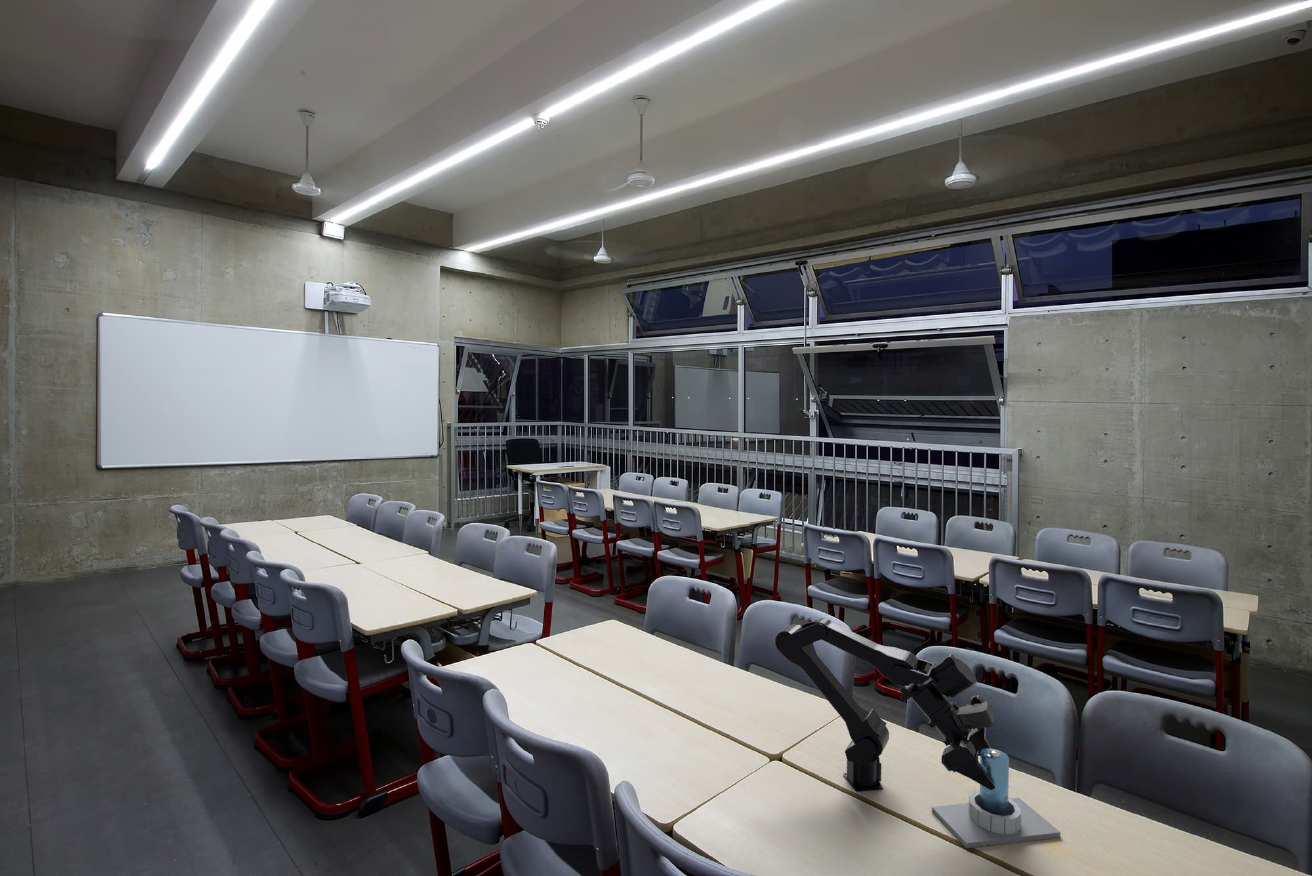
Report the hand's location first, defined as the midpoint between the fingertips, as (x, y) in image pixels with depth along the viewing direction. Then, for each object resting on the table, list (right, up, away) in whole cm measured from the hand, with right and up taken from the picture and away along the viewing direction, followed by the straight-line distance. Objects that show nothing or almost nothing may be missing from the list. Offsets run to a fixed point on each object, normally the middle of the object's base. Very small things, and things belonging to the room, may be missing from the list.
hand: (995, 777), depth 123 cm
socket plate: (0, -10, 0) cm, 10 cm away
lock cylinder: (0, -9, 0) cm, 9 cm away
